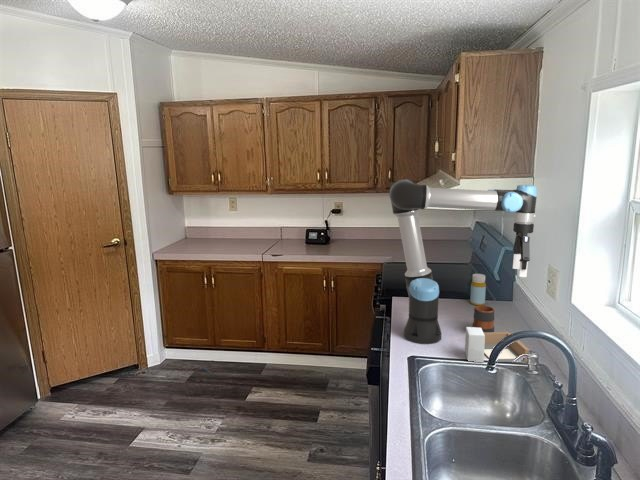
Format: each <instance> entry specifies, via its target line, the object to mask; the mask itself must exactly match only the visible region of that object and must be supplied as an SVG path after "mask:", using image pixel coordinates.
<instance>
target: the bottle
mask: <svg viewBox="0 0 640 480" xmlns="http://www.w3.org/2000/svg"><path fill="white" fill-rule="evenodd" d="M471 278H472V281H471V284H470V299H469V301H470V302H469V303H470V304H471V305H472V304H473V306H476V305H477V306H485V304H486V290H487V284H486V274H483V273H473V274H472V277H471Z"/></svg>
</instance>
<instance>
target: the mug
mask: <svg viewBox="0 0 640 480" xmlns="http://www.w3.org/2000/svg"><path fill="white" fill-rule="evenodd" d="M473 309H474V311H473V322H472V326H471V327H477V328H482V331H483V332H495V325H494V323H495V321H494V320H495V309H494V308H493V307H491V306H487V305H482V306H476V305H475V307H474V308H473Z"/></svg>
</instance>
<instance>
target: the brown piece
mask: <svg viewBox="0 0 640 480" xmlns="http://www.w3.org/2000/svg"><path fill="white" fill-rule="evenodd" d="M483 333H484V335H485V345H484V356H485V357H486V358H487V359H488V358H489V355H490V353H491V350H492V349H493V347H494V346H495V345H496V344H497V343H498V342H499V341H500V340H501V339H503V338H504V337H506V336H508V335H510V334H512V333H511V332H510V331H498V332H497V331H494V332H483ZM527 353H529V354H530V348H528V347H527V346H526V345H525V344H524V343H522V342H521V341H520V340H519V341H516V342H514V343H512V344H510V345H509V346H507V347H506V348H505V349H504V350H503V351H502V353H501V354H500V355H499V357H498V360H497V363H496V364H499V363H498V362H512V361H513V360H514V359H515V358H516V357H517V356H519V355H522V354H527ZM526 361H527V359H526V358H523V360H521V362H526Z"/></svg>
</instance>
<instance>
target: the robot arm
mask: <svg viewBox="0 0 640 480" xmlns="http://www.w3.org/2000/svg"><path fill="white" fill-rule="evenodd" d="M388 193H389V195H388V196H389V198H390V204H391V210H392V214H393V215H394V216H395V217H396V218H397V222H398V227H399V232H400V237H401V244H402V247H403V248H402V249H403V255H404V260H405V265H406V271H405V273H404V278H405V279H404V280H405V284H406V285H405V286H406V287H405V288H406V291H407V295H408V319H407V321H406V324H405V327H404V329H403V337H404V338H405V339H406V340H407V341H410V342H412V343H417V344H424V345H430V344H437V343H439V342H440V341H441V340H442V337H443V336H442V333H443V332H442V331H441V330H442V329H441V327H440V323H439V317H438V315H439V299H440V298H439V296H440V286H439V284H438V282H437V281H436V280H434V278H433V272H432V269H431V268H429V267H428V265H427V264H428V263H427V258H426V254H425V248H424V247H425V246H424V243H423V235H422V230H421V226H420V218H419V214H418V213H419V212H420V210H426V209H427V208H439V209H440V208H442V209H443V208H444V209H459V210H460V209H461V210H477V211H478V210H479V211H494V212H495V211H496V212H506V213H514V216H513V222H514V223H513V227H512V228H513V229H512V230H513V232H514V233H515V237H514V238H515V239H514V244H513V248H512V252H513V257H512V258H513V261H512V269H514V270H519V271H518V277H520V278H527V276H528V265H529V262H530V260H531V259H530V253H531V252H530V241H531V238H530V236H528V234H533V233H534V226H535V225H534V222H535V218H536V217H537V215H536V213H535V212H536V207H537V206H536V204H537V199H538V198H537V197H538V187H537V186H536V185H533V184H519V185H516V189H488V190H484V189H483V190H481V189H462V188H461V189H460V188H442V187H430V186H429V185H428V184H419V183H414V182H413V181H412V180H408V179H400V180H399V179H398V180H396V181H395V182H394V183H392V185H391V186H390V188H389V192H388Z"/></svg>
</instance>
